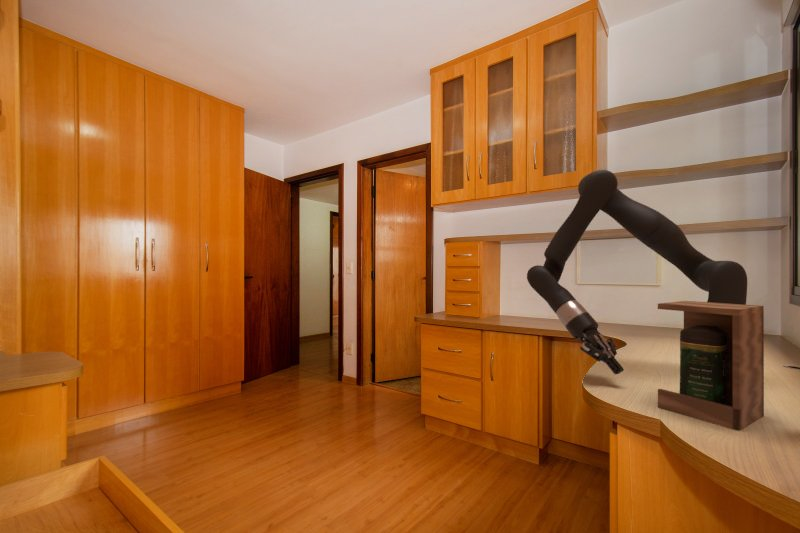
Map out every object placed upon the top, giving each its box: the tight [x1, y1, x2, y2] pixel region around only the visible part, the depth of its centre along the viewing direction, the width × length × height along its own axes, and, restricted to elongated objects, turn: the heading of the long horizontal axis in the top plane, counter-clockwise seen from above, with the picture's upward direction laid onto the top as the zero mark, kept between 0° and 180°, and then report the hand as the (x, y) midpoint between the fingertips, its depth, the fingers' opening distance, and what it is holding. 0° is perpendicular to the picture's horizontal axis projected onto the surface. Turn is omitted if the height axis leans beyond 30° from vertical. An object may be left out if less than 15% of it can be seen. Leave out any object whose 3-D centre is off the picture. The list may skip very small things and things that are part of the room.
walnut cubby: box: [657, 300, 765, 431], centre depth 81 cm, size 14×14×23 cm
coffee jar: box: [678, 325, 727, 405], centre depth 82 cm, size 10×8×19 cm
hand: (620, 372), depth 97 cm, fingers closed
